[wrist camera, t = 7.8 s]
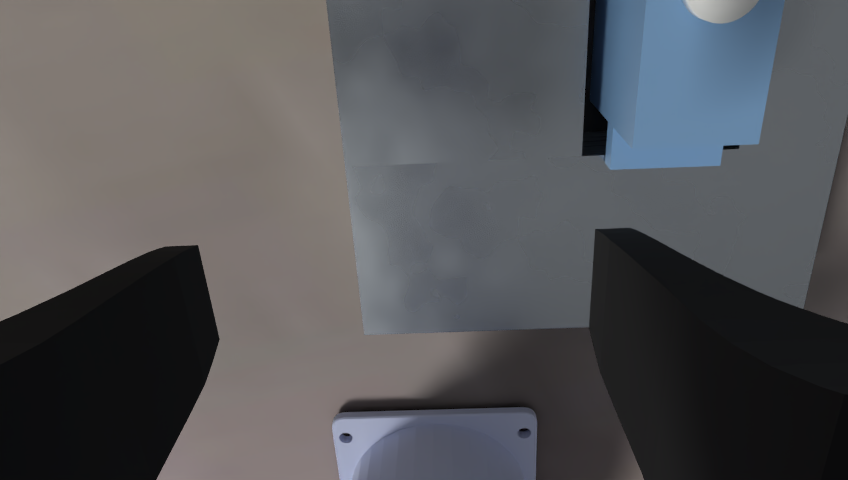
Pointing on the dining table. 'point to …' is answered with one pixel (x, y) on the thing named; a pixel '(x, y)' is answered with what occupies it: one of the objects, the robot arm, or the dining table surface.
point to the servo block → (681, 77)
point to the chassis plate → (555, 164)
